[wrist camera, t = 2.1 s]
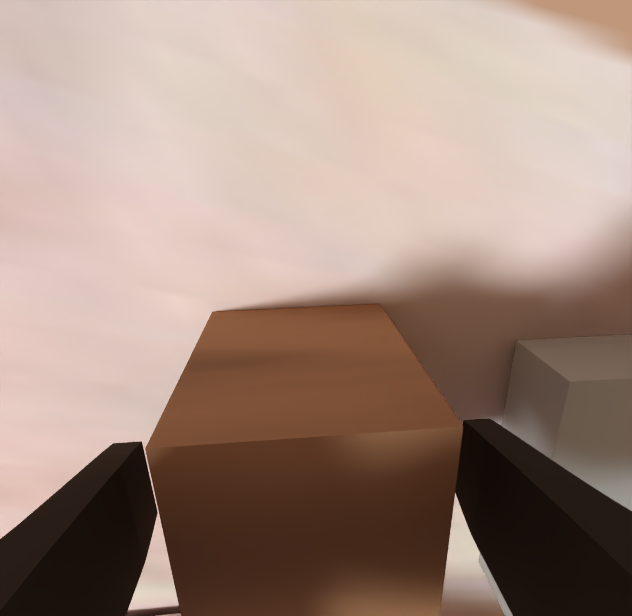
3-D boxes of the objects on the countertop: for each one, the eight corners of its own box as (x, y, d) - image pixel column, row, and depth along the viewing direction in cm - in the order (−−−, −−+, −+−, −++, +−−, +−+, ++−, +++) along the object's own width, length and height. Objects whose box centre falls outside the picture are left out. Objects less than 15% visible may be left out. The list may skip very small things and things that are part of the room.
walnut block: (374, 438, 14) (437, 629, 8) (229, 448, 13) (189, 655, 8) (379, 302, 12) (463, 426, 6) (212, 311, 12) (144, 449, 6)
